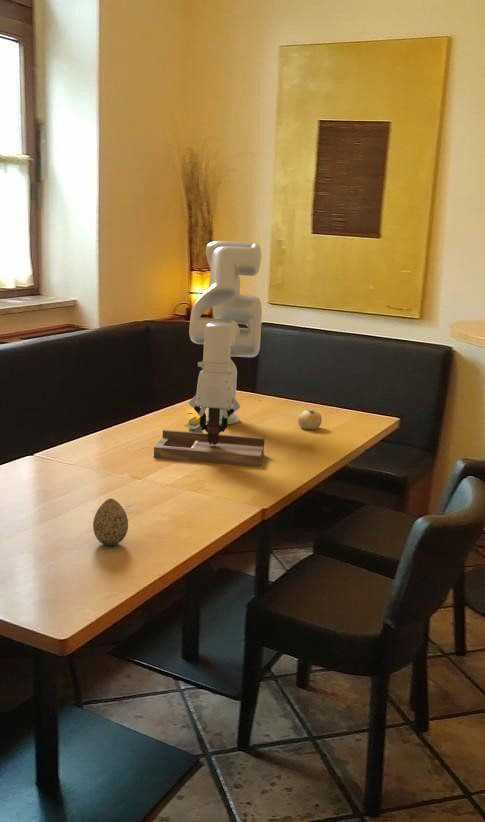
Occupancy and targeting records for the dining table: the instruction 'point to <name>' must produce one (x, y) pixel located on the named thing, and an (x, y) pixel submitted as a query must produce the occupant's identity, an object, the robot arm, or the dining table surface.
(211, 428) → the bolt
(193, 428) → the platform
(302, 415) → the onion
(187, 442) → the brown wooden long tray
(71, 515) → the dining table surface
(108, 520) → the decorative egg
